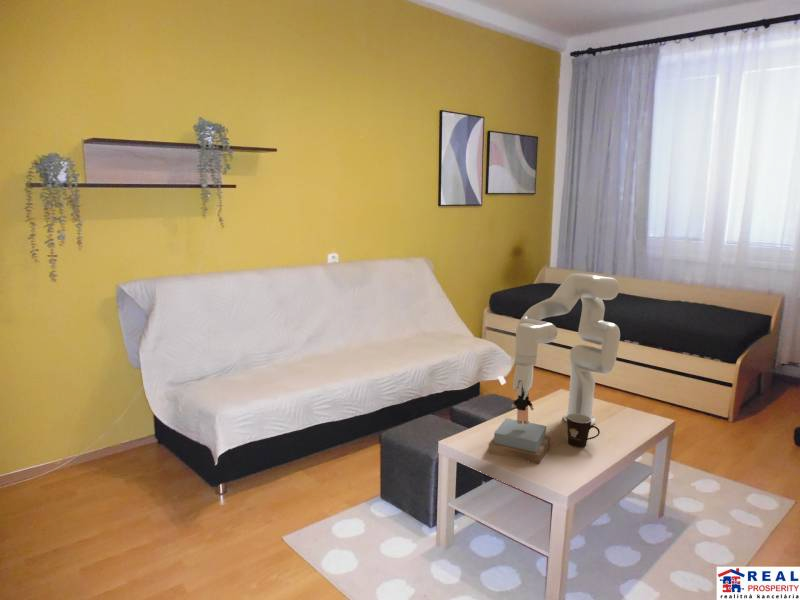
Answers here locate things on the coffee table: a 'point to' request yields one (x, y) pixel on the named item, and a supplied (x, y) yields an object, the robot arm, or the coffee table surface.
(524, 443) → the tower top block
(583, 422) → the coffee mug
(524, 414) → the grandmother figurine
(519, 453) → the tower base block
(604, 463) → the coffee table surface
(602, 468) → the coffee table surface
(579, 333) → the robot arm
